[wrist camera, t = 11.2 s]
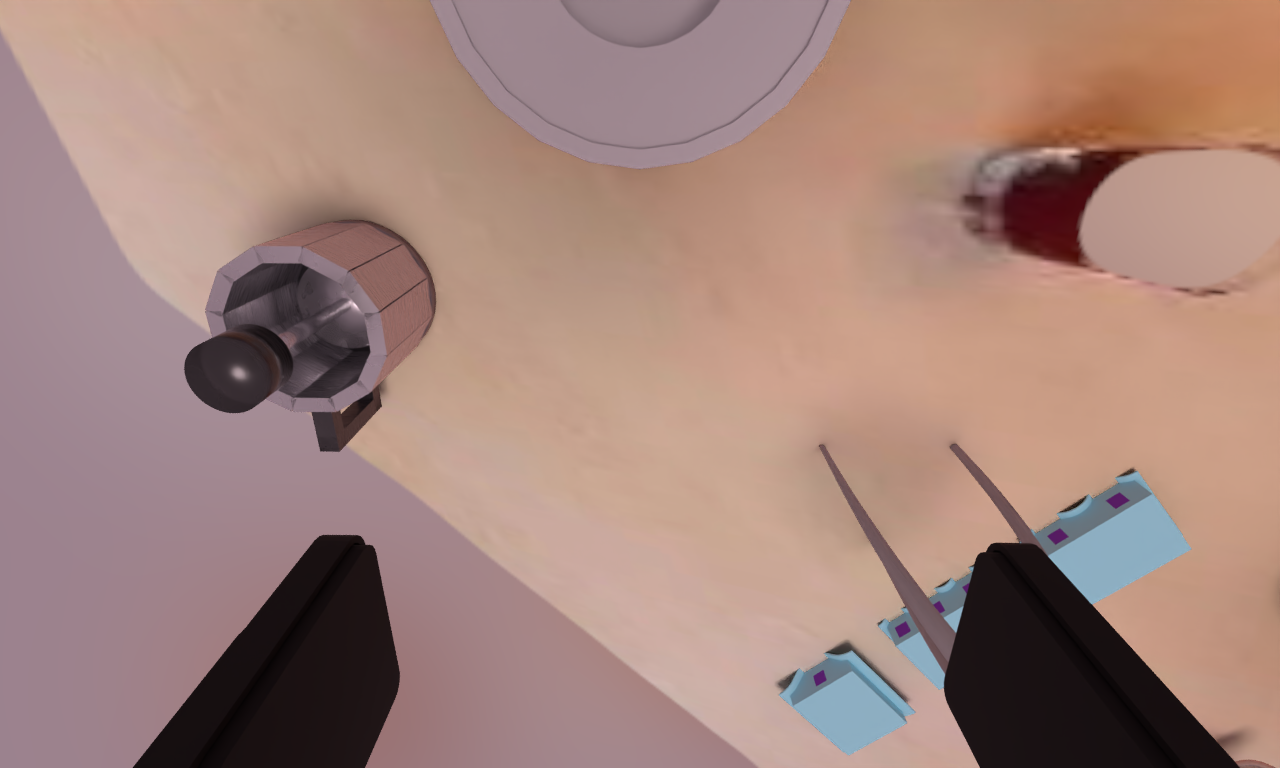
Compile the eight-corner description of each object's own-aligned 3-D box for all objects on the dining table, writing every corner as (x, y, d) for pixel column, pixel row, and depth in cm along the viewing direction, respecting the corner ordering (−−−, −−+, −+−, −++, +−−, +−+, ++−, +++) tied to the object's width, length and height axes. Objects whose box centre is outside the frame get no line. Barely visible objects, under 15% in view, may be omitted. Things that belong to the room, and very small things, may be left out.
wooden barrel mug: (278, 219, 41) (185, 244, 33) (426, 220, 41) (369, 245, 33) (316, 395, 46) (244, 456, 38) (448, 396, 46) (404, 457, 38)
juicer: (808, 542, 51) (997, 1044, 23) (819, 444, 47) (1056, 899, 20) (937, 541, 51) (1281, 1047, 23) (957, 443, 47) (1392, 901, 20)
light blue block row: (775, 677, 58) (838, 734, 60) (781, 705, 55) (846, 763, 58) (1125, 461, 48) (1181, 540, 51) (1154, 482, 46) (1211, 563, 48)
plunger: (295, 255, 40) (140, 315, 28) (388, 255, 40) (274, 316, 28) (314, 343, 42) (178, 434, 30) (402, 344, 42) (302, 436, 30)
